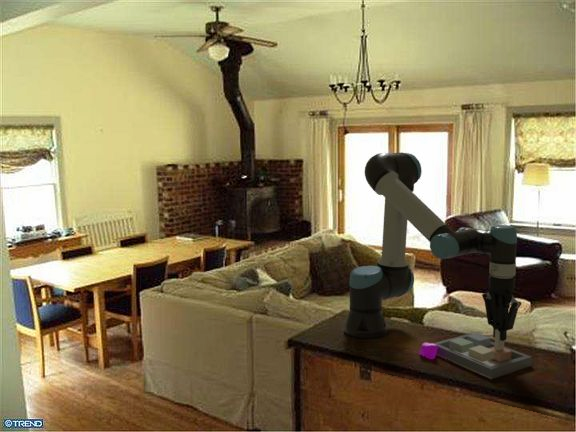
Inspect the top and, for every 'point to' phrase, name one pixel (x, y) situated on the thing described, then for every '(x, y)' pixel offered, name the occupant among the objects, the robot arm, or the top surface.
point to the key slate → (479, 340)
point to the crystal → (428, 350)
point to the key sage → (460, 345)
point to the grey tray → (485, 368)
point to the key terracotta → (501, 354)
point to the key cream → (481, 353)
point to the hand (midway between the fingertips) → (499, 349)
